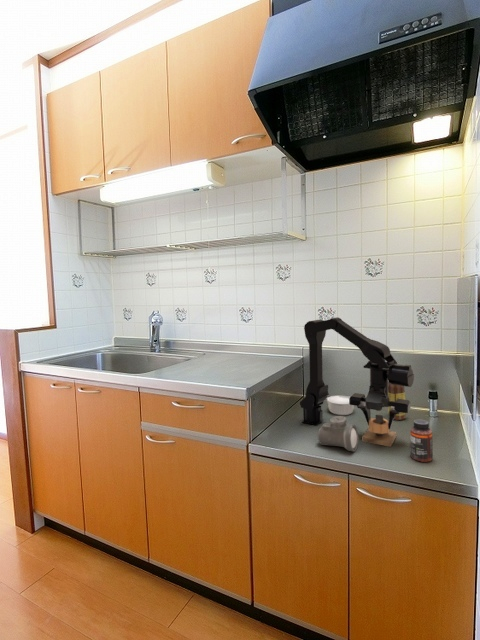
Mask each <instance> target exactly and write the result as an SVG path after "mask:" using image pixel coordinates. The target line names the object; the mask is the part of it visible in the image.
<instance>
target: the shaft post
mask: <svg viewBox="0 0 480 640" xmlns="http://www.w3.org/2000/svg"><path fill="white" fill-rule="evenodd" d="M375 418H376V423H378V424H383V419H384V415H382V414H376V415H375ZM361 438H362V439H361V440H362V442H366V443H371V444H374V445H381V446H385V447H390V448H391V447H392V445H393V444H394V441H395V440H396V438H397V432H396V431H391V430H390V431H389V432H388V433H384V434H379V433H374V432H372V431H370V430H369V428H368V429H367V430H366V431H365V432H364V434H363V435H362V436H361Z"/></svg>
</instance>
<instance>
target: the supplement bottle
mask: <svg viewBox="0 0 480 640" xmlns="http://www.w3.org/2000/svg"><path fill="white" fill-rule="evenodd" d="M429 426H430V423H429V421H427V420H425V419H421V418H419V419H415V420H413V426H412V427H410V437H409V438H410V457H411V458H412V459H413V460H414V461H417V462H422V463H427V462H431V461H433V456H434V455H433V430H432V429H431V428H430V427H429Z"/></svg>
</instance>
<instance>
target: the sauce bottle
mask: <svg viewBox="0 0 480 640" xmlns="http://www.w3.org/2000/svg"><path fill="white" fill-rule="evenodd" d="M388 396H389V401H395V402H396V400H397V399H404V400H406V390H405V386H400V385H393V384H391V383H390V382H389V381H388ZM387 409H388V410H387V411H388V414H389V411H390V410H391V407H387ZM406 414H407V413H401V412H400V413H399V414H396V415H395V417H394V420H397V421H402V420H405V419H406Z"/></svg>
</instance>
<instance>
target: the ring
mask: <svg viewBox="0 0 480 640" xmlns="http://www.w3.org/2000/svg"><path fill="white" fill-rule="evenodd" d="M388 423H389V419H388V420H387V419H386V418H383V424H378V423H376V417H371V419H370V420H369V425H368V429H369V430H370V431H372V432H374V433H379V434H384V433H388V432H389V431H391V428H390V429H389V428H388Z"/></svg>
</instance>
